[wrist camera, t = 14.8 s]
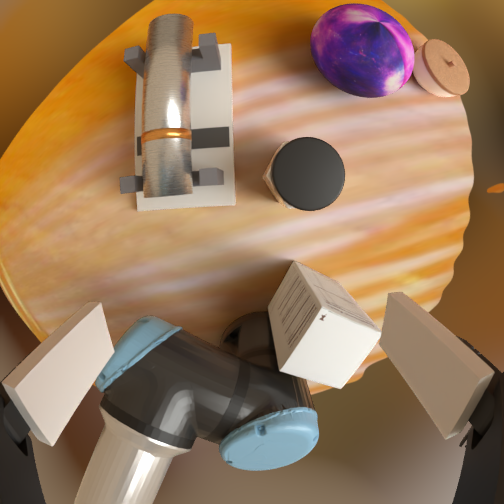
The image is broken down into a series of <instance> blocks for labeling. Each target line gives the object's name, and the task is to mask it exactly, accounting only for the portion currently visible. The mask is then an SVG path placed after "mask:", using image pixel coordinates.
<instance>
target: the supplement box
mask: <svg viewBox="0 0 504 504" xmlns="http://www.w3.org/2000/svg"><path fill="white" fill-rule="evenodd" d="M268 312H269V317H270V323H271V328H272V334H273V339H274V345H275V350H276V356H277V362H278V367H279V371H281V372H284V373H287V374H291V375H294V376H297V377H300V378H304V379H307V380H310V381H314V382H317V383H321V384H324V385H328V386H331V387H335V388H339V389H341V388H342V387H343V386H344V385H345V383H346V382H347V381H348V380H349V379H350V377H351V376H352V375H353V374H354V372H355V371H356V370H357V368H358V367H359V366H360V365H361V363H362V362H363V361H364V359H365V358H366V357H367V355H368V354H369V353H370V351H371V350H372V349H373V347H374V346H375V344H376V343H377V341H378V340H379V339H380V337H381V332H382V331H381V330H380V329H379V328H378V326H377V325H376V324H375V323H374V322H373V321H372V319H371V318H370V317H369V316H368V315H367V314H366V313H365V312H364V311H363V309H362V308H361V307H360V306H359V305H358V303H357V302H356V301H355V300H354V299H353V297H352V296H351V295H350V294H349V293H348V292H347V291H346V290H345V288H344V287H343V286H342V285H341V284H340V283H339V282H337V281H335V280H333V279H331V278H329V277H327V276H325V275H323V274H321V273H319V272H317V271H315V270H313V269H311V268H309V267H307V266H305V265H303V264H301V263H299V262H296V261H293V263H292V264H291V266H290V268H289V270H288V272H287V273H286V275H285V277H284V279H283V281H282V282H281V284H280V286H279V288H278V289H277V291H276V293H275V295H274V296H273V298H272V300H271V302H270V303H269V305H268Z"/></svg>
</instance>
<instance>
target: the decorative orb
mask: <svg viewBox="0 0 504 504" xmlns="http://www.w3.org/2000/svg"><path fill="white" fill-rule="evenodd" d="M310 46H311V53H312V57H313V59H314V62H315V64H316V66H317V67H318V69H319V71H320V72H321V73H322V74H323V76H324V77H325V78H326V79H327V80H328V81H329V82H330V83H332V84H333V85H334V86H336V87H337V88H339V89H341V90H343V91H345V92H347V93H349V94H352V95H355V96H360V97H367V98H375V97H382V96H386V95H389V94H391V93H393V92H395V91H397V90H398V89H400V88H401V87H402V86H403V85H404V84H405V83H406V82H407V81H408V79H409V77H410V76H411V73H412V71H413V67H414V49H413V45H412V42H411V40H410V38H409V36H408V34H407V32H406V31H405V29H404V28H403V27H402V26H401V24H400V23H399V22H398V21H397V20H395V19H394V18H393V17H392V16H390V15H389V14H387V13H386V12H384V11H382V10H380V9H378V8H375V7H372V6H369V5H364V4H345V5H340V6H337V7H335V8H332V9H330V10H329V11H327V12H326V13H324V14H323V15H322V16H321V17H320V18H319V19H318V21H317V22H316V24H315V26H314V28H313V30H312V34H311V40H310Z"/></svg>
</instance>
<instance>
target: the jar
mask: <svg viewBox="0 0 504 504" xmlns="http://www.w3.org/2000/svg"><path fill="white" fill-rule="evenodd" d="M262 178H263V180H264V181H265V183H266V184H267V186H268V187H269V189H270V190H271V192H272V193H273V195H274V196H275V198H276V199H277V201H278V202H279V203H280V204H282V205H283V206H285V207H286V208H297V209H300V210H305V211H315V210H320V209H323V208H325V207H327V206H329V205H330V204H331V203H333V202H334V201H335V200H336V199H337V197H338V196H339V195H340V193H341V191H342V189H343V186H344V181H345V169H344V165H343V162H342V159H341V157H340V156H339V154H338V153H337V151H336V150H335V149H334V148H333V147H332V146H331V145H329V144H328V143H326V142H325V141H323V140H320V139H317V138H313V137H302V138H297V139H294V140H292V141H290V142H283V143H282V144H281V146H280V147H279V148H278V149H277V150H276V151H275V153H274V155H273V157H272V159H271V161H270V163H269V165H268V167H267V169H266V171H265V173H264V174H263V176H262Z"/></svg>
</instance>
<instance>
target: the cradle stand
mask: <svg viewBox="0 0 504 504" xmlns="http://www.w3.org/2000/svg"><path fill="white" fill-rule="evenodd" d="M145 55H146V53H145V52H144V51H143V50H142V49H141V47H140V46H135V47H131V48H128V49H125V55H124V62H125V63H126V64H128V65H129V66H130V67H131V68H132V69H133V70H134V71H135V72H136V73H137V82H136V98H135V176H127V177H120V191H121V194H123V193H132V192H136V197H137V211H149V210H162V209H176V208H191V207H208V206H228V205H236V196H235V169H234V139H233V103H232V54H231V44H218V43H217V39H216V34H215V33H209V34H200V35H199V46H198V47H192V66H191V131H192V141H191V151H192V179H193V194H185V195H175V196H164V197H153V198H144V195H143V176H142V145H141V134H142V97H143V79H144V66H145Z"/></svg>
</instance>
